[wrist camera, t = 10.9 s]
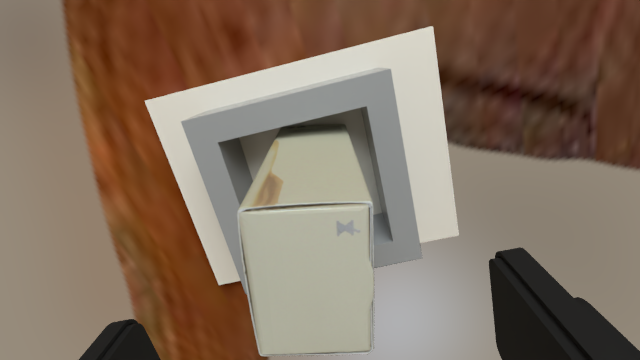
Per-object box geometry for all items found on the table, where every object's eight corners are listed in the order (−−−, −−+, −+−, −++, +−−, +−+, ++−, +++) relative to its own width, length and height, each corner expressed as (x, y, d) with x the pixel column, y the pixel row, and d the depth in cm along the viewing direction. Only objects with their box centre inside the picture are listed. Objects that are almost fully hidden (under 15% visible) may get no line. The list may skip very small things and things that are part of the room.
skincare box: (278, 125, 22) (229, 198, 10) (346, 122, 22) (376, 190, 10) (287, 217, 24) (254, 364, 12) (349, 214, 24) (376, 359, 12)
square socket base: (427, 27, 21) (459, 17, 16) (453, 228, 25) (484, 267, 20) (151, 99, 22) (105, 109, 17) (222, 277, 27) (201, 323, 22)
